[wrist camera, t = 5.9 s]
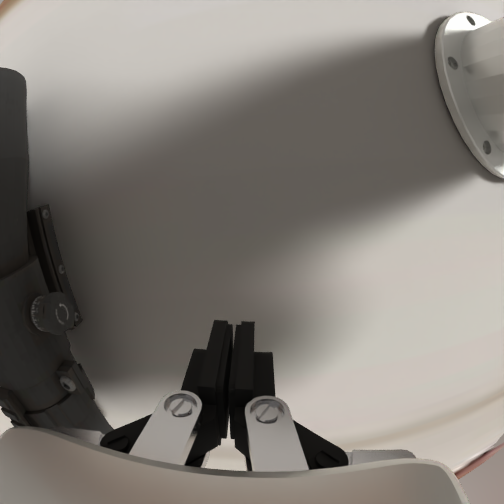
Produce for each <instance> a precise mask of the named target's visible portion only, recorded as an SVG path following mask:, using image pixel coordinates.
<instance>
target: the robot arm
mask: <svg viewBox="0 0 504 504" xmlns="http://www.w3.org/2000/svg"><path fill="white" fill-rule="evenodd" d="M435 60H436V69H437V73H438V78H439V82H440V86H441V89H442V92H443V95H444V98H445V102H446V104H447V107H448V109H449V111H450V114H451V116H452V119H453V121H454V123H455V125H456V127H457V129H458V131H459V133H460V135H461V137H462V138H463V140H464V141H465V143H466V145H467V146H468V148H469V149H470V151H471V152H472V154H473V155H474V156H475V157H476V158H477V160H478V161H479V162H480V163H481V164H482V165H483V166H484V167H485V168H486V169H487V170H489V171H490V172H491V173H492V174H494V175H496V176H498V177H500V178H503V179H504V17H502V18H500V19H498V20H495V21H493V22H491V21H490V20H488V19H486V18H484V17H482V16H481V15H478V14H475V13H472V12H459V13H456V14H453V15H452V16H450V17H448V18H447V19H445V20H444V21H443V23H442V24H441V25H440V27H439V29H438V32H437V35H436V39H435ZM254 324H255V322H245V321H242V322H241V325H236V331H235V339H234V347H233V325H232V324H228V321H221V320H214V323H213V327H212V331H211V335H210V338H209V342H208V346H207V350H203V349H194V350H193V353H192V356H191V359H190V362H189V366H188V369H187V372H186V375H185V378H184V381H183V385H182V388H181V390H179V391H173V392H170V393H168V394H167V395H165V396H164V397H163V398H162V399H161V401H160V402H159V404H158V406H157V407H156V409H155V411H154V412H153V414H151V415H148V416H146V417H144V418H141V419H139V420H137V421H134V422H132V423H130V424H127V425H125V426H122V427H120V428H117V429H115V430H112V431H110V432H108V433H106V434H101V432H100V431H90V430H82V429H74V428H68V427H61V426H53V427H50V428H49V429H44V428H39V427H30V426H18V427H13V428H10V429H8V430H6V431H5V432H4V433H3V434H2V435H1V436H0V504H470V503H469V500H468V498H467V496H466V494H465V491H464V490H463V488H462V486H461V484H460V482H459V481H458V479H457V477H456V476H455V474H454V473H453V472H452V471H451V470H450V469H449V468H448V467H447V466H446V465H444V464H443V463H440V462H438V461H433V460H428V459H418V458H416V457H415V456H414V455H413V453H411V452H409V451H407V450H353V451H352V452H344V451H343V450H342V449H341V448H339V447H338V446H336V445H334V444H332V443H330V442H329V441H327V440H325V439H323V438H322V437H320V436H318V435H317V434H315V433H313V432H312V431H310V430H308V429H307V428H305V427H304V426H302V425H300V424H299V423H297V422H296V421H294V420H293V419H292V416H291V413H290V410H289V407H288V405H287V404H286V403H285V402H284V401H283V400H281V399H279V398H277V397H275V384H274V369H273V354H272V352H254ZM229 416H230V435H231V439H235V448H236V449H238V450H239V451H240V452H241V453H242V454H244V459H245V466H246V471H232V470H218V469H208V468H205V466H206V463H207V461H208V458H209V453H210V450H212V449H214V448H215V447H217V446H218V445H221V438H227V430H228V421H229Z"/></svg>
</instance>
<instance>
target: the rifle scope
mask: <svg viewBox="0 0 504 504" xmlns="http://www.w3.org/2000/svg"><path fill="white" fill-rule="evenodd" d="M26 99H27V89H26V80H25V78H24V77H23V76H22V75H21V74H20V73H19V72H17V71H15V70H12V69H8V68H1V67H0V406H1V407H2V409H1V410H2V412H3V413H4V414H5V416H7V417H9V418H10V419H11V420H12V421H11V423H12V424H13V426H14V427H18V426H30V427H39V428H44V429H49V428H50V427H53V426H61V427H68V428H74V429H82V430H90V431H100V432H101V434H106V433H108V432H110V431H112V430H114V429H113V428H112V427H111V425H109V423H108V422H107V420H106V419H105V417H104V416H103V414H102V413H101V411H100V410H99V408H98V407H97V405H96V404H95V402H94V400H93V399H94V397H95V393H94V389H93V387H92V385H91V383H90V381H89V379H88V377H87V376H86V374H85V372H84V370H83V368H82V366H81V364H77V363H76V361H75V360H74V358H73V356H72V354H71V352H70V343H69V340H68V338H67V336H66V334H65V331H66V330H67V329H74V328H75V327H74V326H77V325H78V324H79V323H80V322H81V321H82V318H81V316H80V313H79V310H78V308H77V305H76V302H75V300H74V297H73V294H72V291H71V288H70V285H69V282H68V279H67V276H66V273H65V268H64V266H63V263H62V259H61V256H60V252H59V248H58V244H57V240H56V236H55V232H54V228H53V223H52V219H51V214H50V209H49V205H46V206H43V207H39V208H36V209H33V210H30V211H28V212H27V182H28V167H29V156H28V144H27V122H26Z"/></svg>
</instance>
